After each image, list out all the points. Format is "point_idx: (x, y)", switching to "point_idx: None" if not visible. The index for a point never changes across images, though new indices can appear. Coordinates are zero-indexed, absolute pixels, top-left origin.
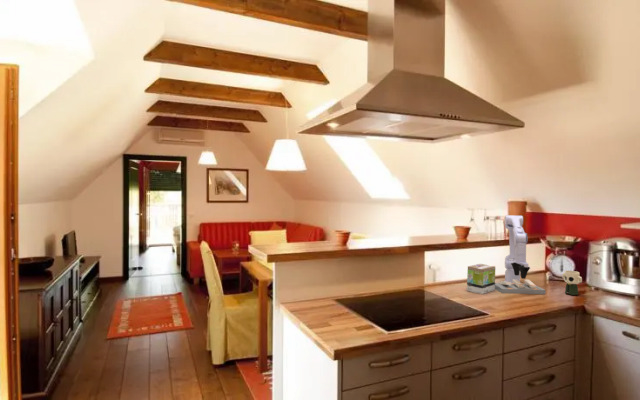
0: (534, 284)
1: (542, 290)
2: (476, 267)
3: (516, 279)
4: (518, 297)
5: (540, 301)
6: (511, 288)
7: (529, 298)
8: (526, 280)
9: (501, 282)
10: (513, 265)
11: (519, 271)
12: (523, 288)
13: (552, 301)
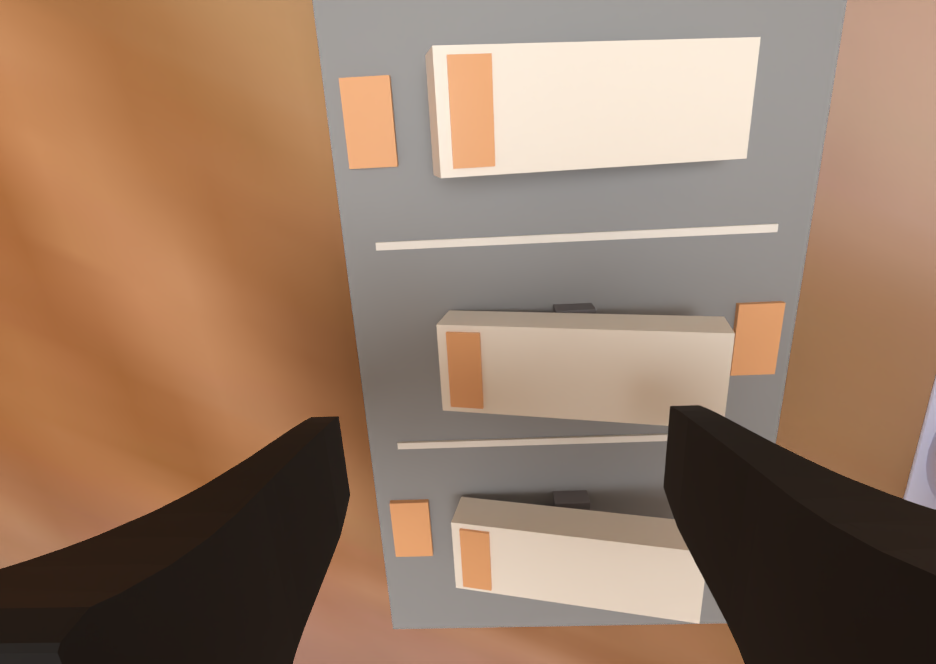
0: (502, 591)
1: (391, 590)
2: None
3: (720, 413)
4: (133, 155)
5: (25, 383)
6: (359, 144)
7: (131, 303)
8: (664, 563)
9: (680, 41)
10: (892, 585)
11: (709, 585)
12: (428, 376)
13: (84, 517)
